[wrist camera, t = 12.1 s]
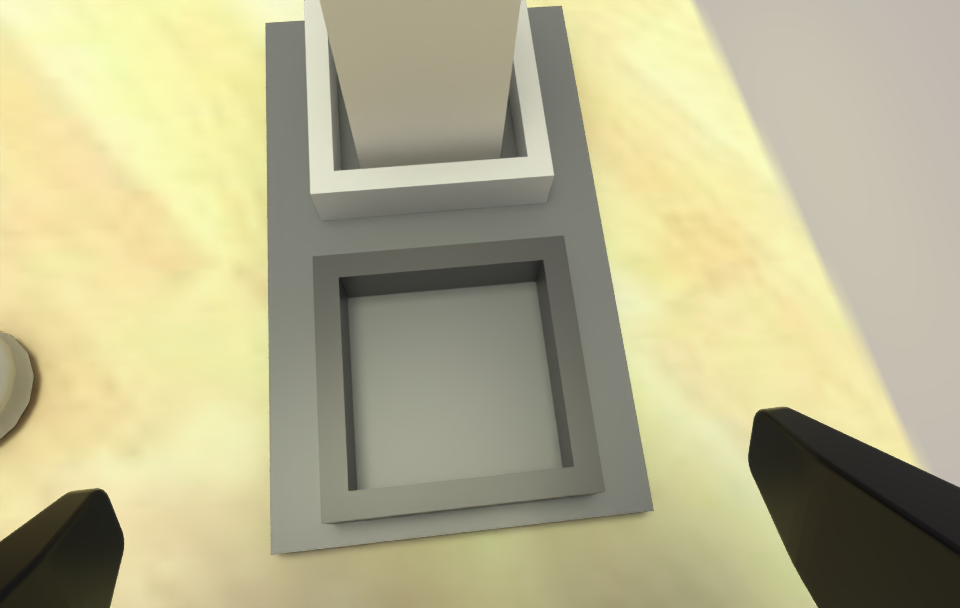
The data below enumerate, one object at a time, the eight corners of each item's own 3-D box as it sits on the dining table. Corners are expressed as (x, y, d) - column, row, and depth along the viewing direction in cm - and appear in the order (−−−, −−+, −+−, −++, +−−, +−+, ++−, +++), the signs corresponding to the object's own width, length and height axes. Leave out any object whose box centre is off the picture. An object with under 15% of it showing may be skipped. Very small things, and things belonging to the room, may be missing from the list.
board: (645, 511, 22) (673, 508, 20) (279, 553, 22) (252, 556, 19) (558, 23, 29) (569, -33, 26) (271, 40, 28) (251, -16, 25)
